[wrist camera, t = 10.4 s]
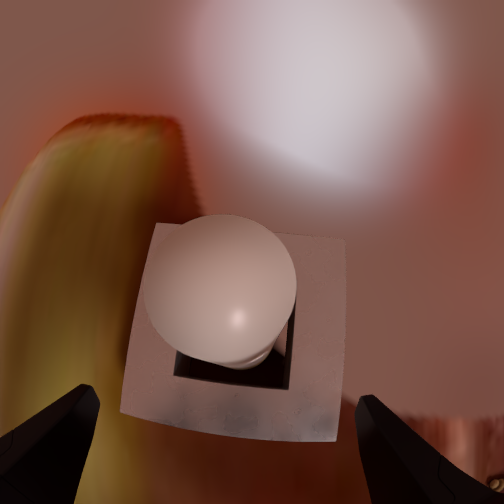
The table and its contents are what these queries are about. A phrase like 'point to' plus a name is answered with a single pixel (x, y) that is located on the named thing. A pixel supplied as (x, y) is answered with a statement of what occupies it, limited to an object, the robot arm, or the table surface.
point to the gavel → (497, 485)
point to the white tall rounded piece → (221, 290)
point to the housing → (247, 395)
